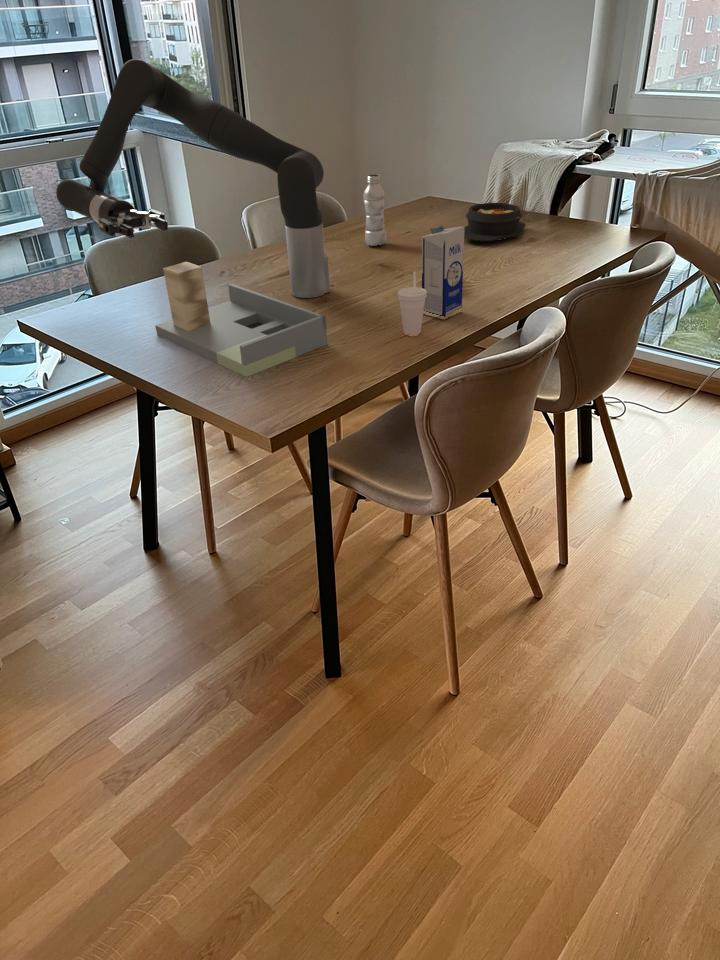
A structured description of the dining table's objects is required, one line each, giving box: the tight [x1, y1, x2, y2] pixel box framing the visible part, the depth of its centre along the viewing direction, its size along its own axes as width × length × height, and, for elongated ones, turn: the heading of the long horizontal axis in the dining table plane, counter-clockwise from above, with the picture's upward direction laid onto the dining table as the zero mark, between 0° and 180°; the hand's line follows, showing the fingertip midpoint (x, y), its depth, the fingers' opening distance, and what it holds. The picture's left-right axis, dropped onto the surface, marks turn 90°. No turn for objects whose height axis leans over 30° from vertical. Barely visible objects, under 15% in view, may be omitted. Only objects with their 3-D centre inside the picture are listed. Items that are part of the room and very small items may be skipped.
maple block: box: [162, 261, 211, 331], centre depth 168 cm, size 6×6×13 cm
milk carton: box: [421, 225, 466, 317], centre depth 173 cm, size 7×7×20 cm
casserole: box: [464, 202, 527, 242], centre depth 230 cm, size 25×19×8 cm
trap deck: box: [154, 283, 328, 378], centre depth 168 cm, size 22×34×6 cm, turn 44°
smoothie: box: [396, 270, 427, 335], centre depth 165 cm, size 6×6×14 cm
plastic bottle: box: [363, 173, 387, 247], centre depth 223 cm, size 6×7×20 cm
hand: (149, 229), depth 169 cm, fingers open, 8 cm apart
